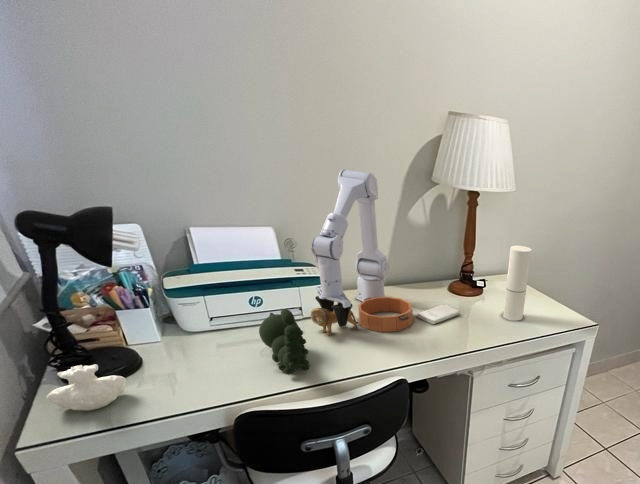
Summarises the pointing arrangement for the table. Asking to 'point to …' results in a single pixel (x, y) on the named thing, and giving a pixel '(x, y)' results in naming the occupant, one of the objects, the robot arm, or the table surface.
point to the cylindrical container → (516, 282)
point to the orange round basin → (386, 321)
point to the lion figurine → (329, 319)
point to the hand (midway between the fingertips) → (336, 321)
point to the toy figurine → (285, 341)
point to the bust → (86, 389)
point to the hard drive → (438, 314)
